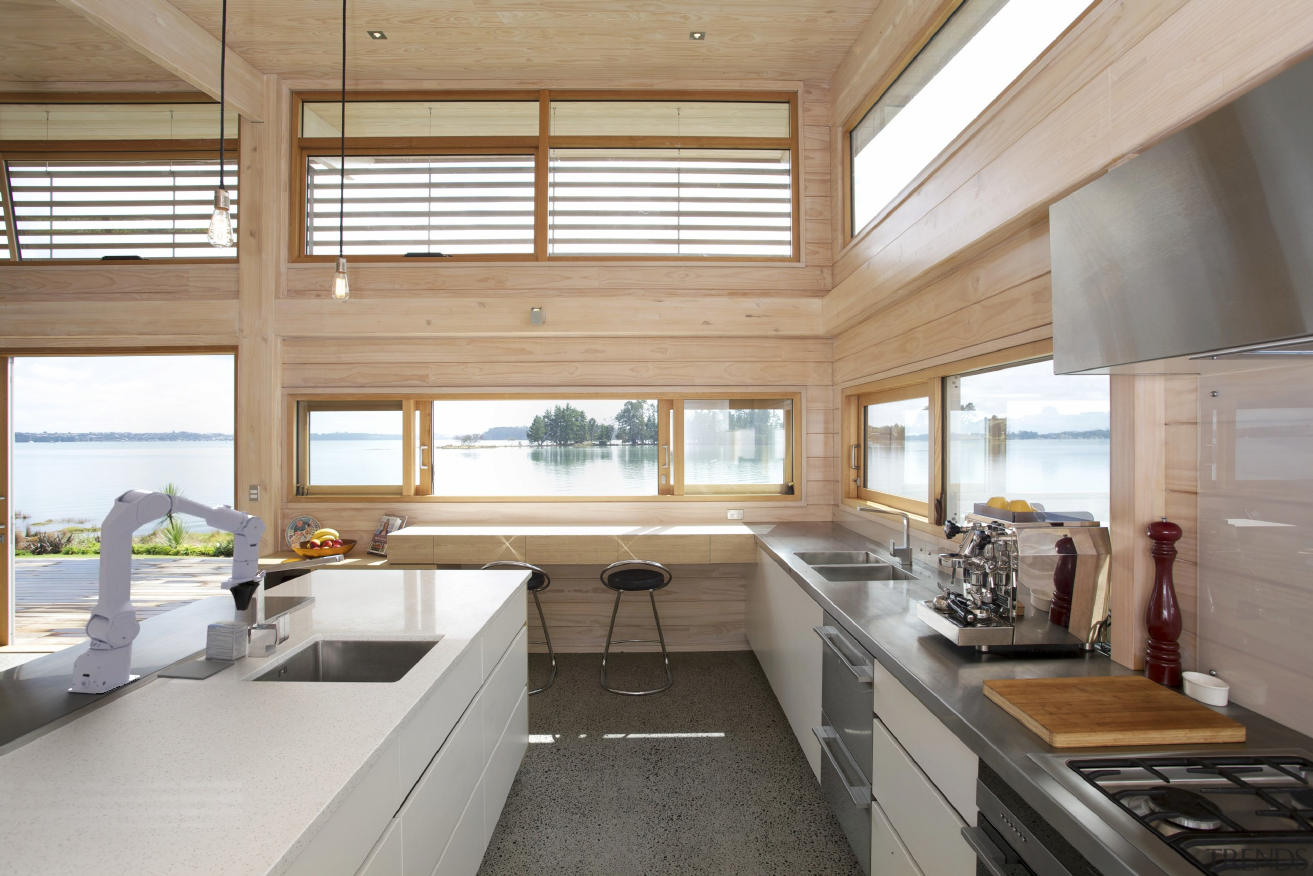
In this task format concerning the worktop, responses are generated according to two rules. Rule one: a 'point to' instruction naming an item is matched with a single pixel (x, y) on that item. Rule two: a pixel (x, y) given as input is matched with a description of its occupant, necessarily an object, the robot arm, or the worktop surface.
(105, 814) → the worktop surface
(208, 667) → the grey rubber pad
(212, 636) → the medicine box
